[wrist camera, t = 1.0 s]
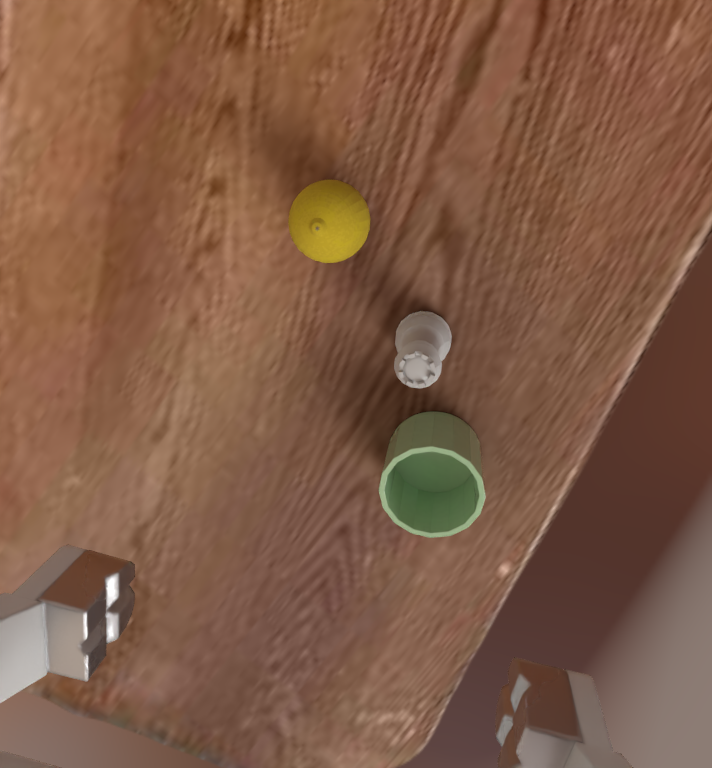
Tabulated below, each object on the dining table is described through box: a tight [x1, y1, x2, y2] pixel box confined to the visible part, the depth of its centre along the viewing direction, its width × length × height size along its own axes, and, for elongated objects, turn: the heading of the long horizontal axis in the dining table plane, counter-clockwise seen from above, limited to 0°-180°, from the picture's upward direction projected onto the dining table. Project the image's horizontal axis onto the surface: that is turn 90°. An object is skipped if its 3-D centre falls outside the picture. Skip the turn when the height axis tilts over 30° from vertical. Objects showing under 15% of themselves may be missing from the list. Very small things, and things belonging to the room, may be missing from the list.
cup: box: [379, 411, 485, 538], centre depth 46 cm, size 8×8×6 cm
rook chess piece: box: [394, 311, 452, 388], centre depth 42 cm, size 4×4×8 cm
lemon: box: [288, 179, 370, 263], centre depth 40 cm, size 6×6×8 cm
